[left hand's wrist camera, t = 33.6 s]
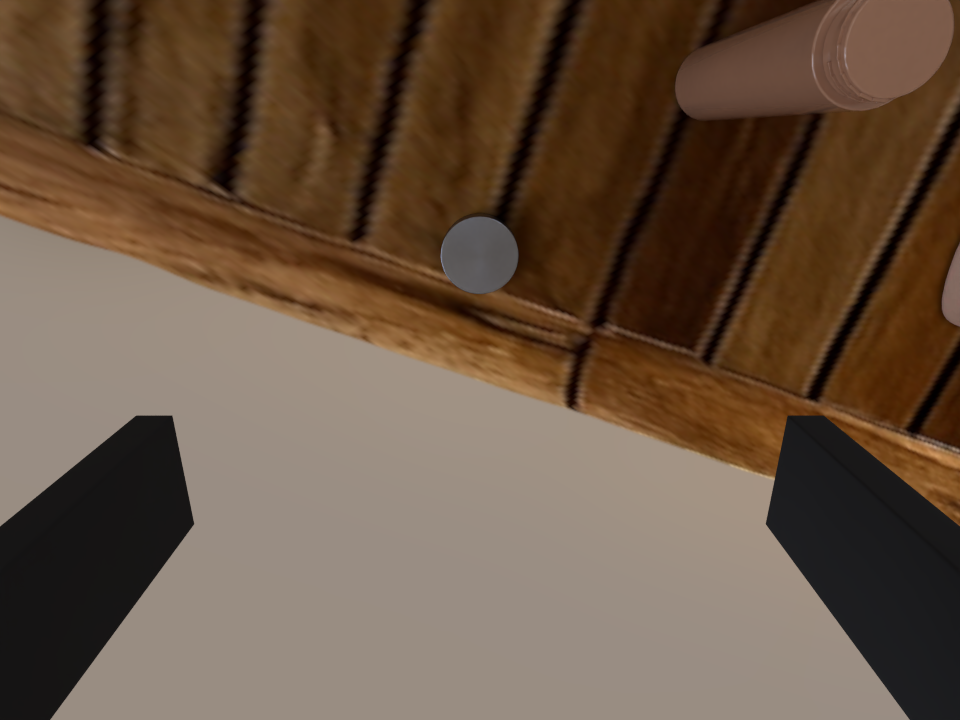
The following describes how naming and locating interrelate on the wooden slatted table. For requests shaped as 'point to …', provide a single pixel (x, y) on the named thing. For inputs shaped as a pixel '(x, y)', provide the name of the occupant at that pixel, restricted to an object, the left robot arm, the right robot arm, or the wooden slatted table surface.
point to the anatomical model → (952, 291)
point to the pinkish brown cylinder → (818, 60)
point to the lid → (479, 253)
